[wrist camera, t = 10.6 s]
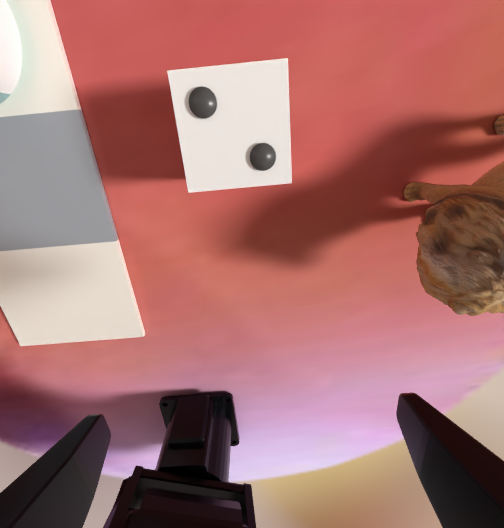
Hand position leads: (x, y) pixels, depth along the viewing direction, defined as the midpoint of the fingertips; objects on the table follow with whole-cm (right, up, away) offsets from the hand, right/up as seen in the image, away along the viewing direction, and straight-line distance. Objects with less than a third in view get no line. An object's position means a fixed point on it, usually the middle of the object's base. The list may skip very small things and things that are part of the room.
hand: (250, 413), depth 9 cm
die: (-1, +13, +9) cm, 15 cm away
